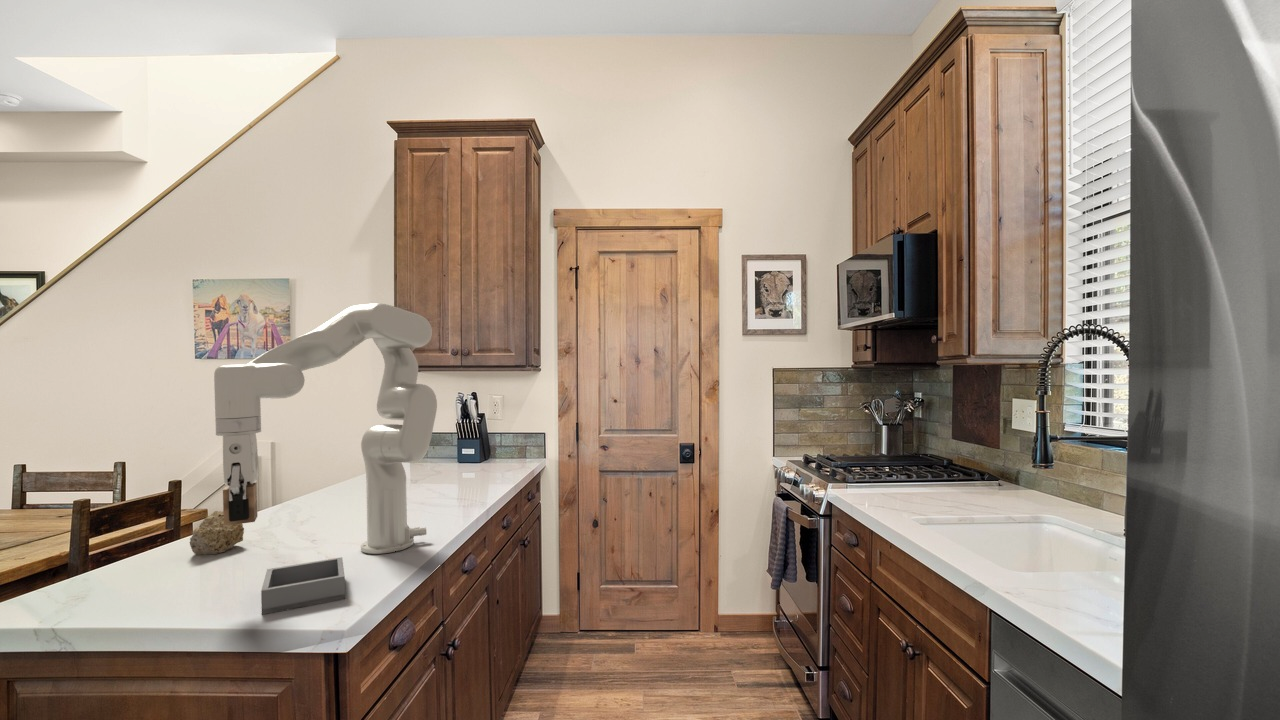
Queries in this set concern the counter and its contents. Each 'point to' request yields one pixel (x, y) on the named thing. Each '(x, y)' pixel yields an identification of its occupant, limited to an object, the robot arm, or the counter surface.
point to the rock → (215, 535)
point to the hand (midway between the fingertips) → (241, 515)
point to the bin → (303, 585)
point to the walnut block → (252, 504)
